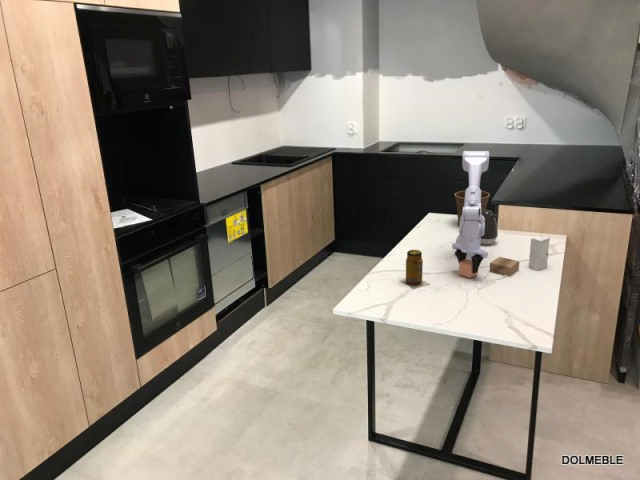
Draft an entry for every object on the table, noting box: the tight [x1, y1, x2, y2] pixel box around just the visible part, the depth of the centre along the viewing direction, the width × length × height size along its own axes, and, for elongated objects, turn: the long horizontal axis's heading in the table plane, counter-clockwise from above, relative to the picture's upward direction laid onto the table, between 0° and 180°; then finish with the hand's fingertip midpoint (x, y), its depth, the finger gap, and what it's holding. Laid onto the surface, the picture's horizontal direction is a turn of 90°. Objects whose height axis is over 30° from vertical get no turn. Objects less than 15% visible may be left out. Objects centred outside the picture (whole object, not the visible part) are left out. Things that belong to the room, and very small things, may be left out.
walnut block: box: [489, 256, 520, 277], centre depth 194 cm, size 8×8×4 cm
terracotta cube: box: [458, 258, 479, 278], centre depth 191 cm, size 5×5×5 cm
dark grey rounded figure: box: [480, 209, 499, 246], centre depth 222 cm, size 10×10×15 cm
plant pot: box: [454, 190, 491, 227], centre depth 245 cm, size 16×16×16 cm
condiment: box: [400, 249, 430, 289], centre depth 186 cm, size 7×8×12 cm
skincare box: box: [528, 235, 551, 271], centre depth 194 cm, size 6×4×12 cm
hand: (468, 270), depth 191 cm, fingers closed on terracotta cube, 5 cm apart
